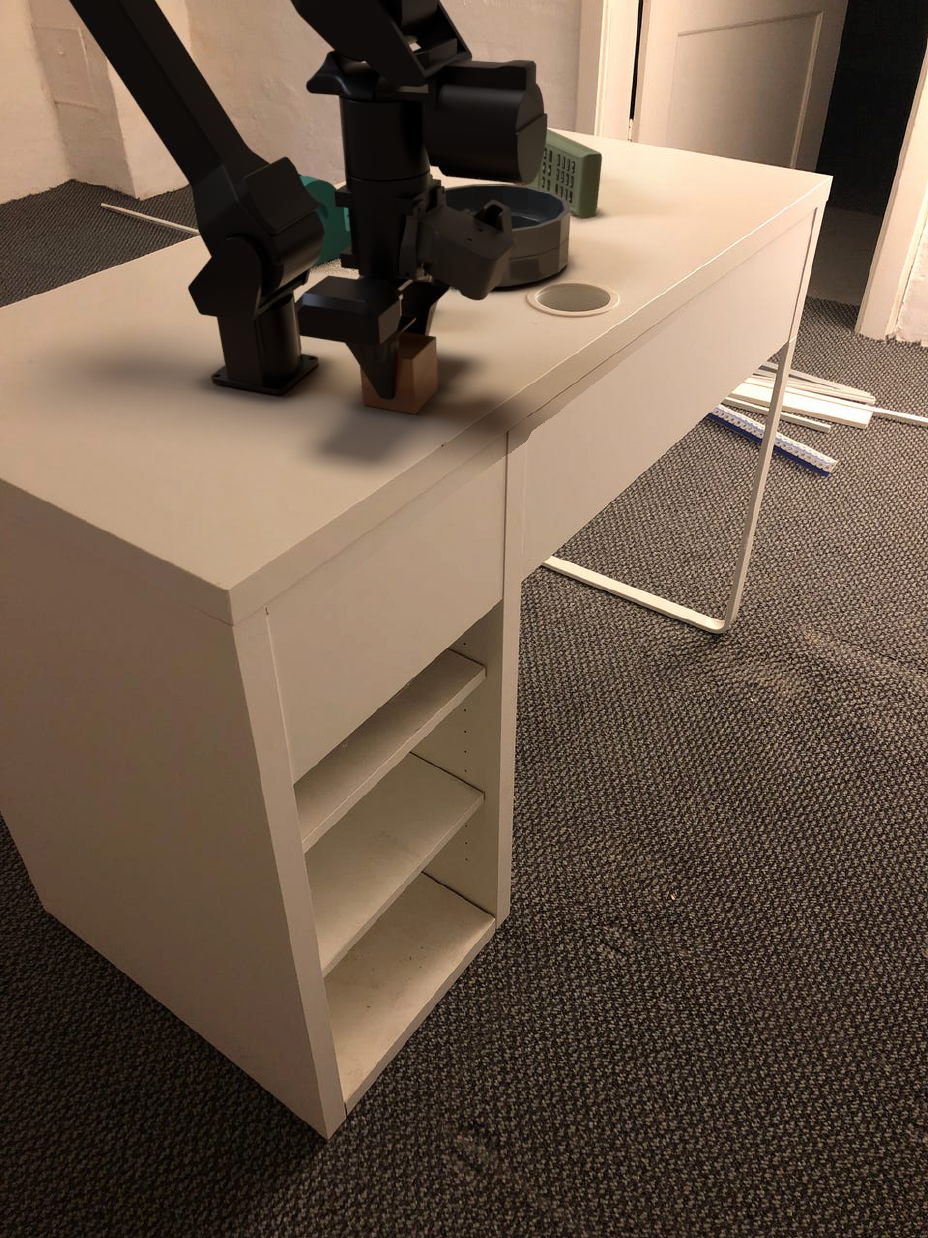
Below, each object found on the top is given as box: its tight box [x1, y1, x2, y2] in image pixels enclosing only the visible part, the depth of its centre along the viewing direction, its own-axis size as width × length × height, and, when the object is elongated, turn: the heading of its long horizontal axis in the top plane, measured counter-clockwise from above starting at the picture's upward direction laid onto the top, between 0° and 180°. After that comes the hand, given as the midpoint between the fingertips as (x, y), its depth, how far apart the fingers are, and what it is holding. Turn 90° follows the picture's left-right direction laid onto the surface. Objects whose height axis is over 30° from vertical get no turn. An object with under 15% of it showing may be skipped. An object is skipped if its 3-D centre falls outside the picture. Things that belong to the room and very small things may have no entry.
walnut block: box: [359, 332, 439, 415], centre depth 75 cm, size 4×4×4 cm
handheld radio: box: [521, 128, 603, 219], centre depth 117 cm, size 7×3×25 cm
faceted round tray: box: [445, 183, 572, 288], centre depth 98 cm, size 15×15×6 cm
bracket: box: [298, 173, 351, 268], centre depth 103 cm, size 18×7×8 cm, turn 136°
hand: (400, 385), depth 76 cm, fingers closed on walnut block, 4 cm apart
